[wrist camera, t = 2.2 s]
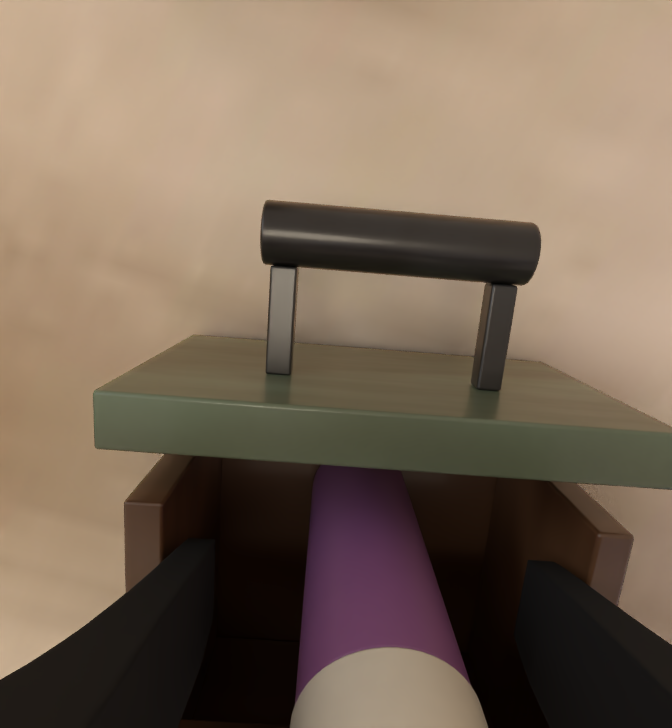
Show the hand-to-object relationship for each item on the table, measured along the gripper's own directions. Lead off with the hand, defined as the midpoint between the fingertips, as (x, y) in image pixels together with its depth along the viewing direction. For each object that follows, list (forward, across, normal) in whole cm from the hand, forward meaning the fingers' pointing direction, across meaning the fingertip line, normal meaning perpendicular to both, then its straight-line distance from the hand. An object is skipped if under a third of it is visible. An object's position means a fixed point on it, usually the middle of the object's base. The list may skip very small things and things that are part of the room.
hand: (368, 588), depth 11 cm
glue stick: (+5, 0, 0) cm, 5 cm away
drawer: (+6, 0, -1) cm, 6 cm away
